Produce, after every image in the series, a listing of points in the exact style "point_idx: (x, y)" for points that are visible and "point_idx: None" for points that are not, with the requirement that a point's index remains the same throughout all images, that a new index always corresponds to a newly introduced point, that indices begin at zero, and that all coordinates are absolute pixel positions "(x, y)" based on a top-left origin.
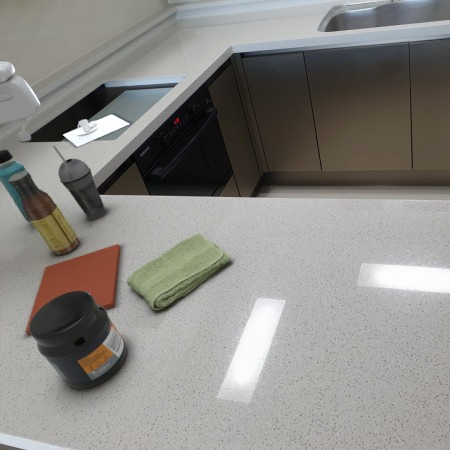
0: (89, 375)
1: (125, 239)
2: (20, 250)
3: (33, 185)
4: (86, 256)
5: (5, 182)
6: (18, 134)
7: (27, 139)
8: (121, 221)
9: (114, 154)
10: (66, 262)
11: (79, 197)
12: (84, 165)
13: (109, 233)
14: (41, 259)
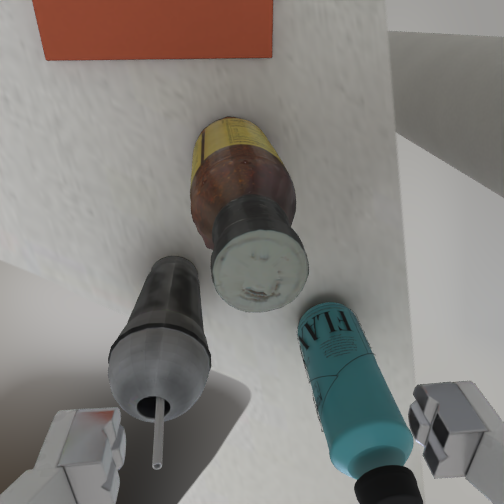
0: None
1: (45, 98)
2: (364, 209)
3: (215, 235)
4: (143, 41)
5: (385, 401)
6: (94, 466)
7: (64, 414)
8: (87, 206)
9: (186, 501)
10: (207, 44)
11: (174, 295)
12: (109, 381)
13: (111, 160)
14: (299, 130)
